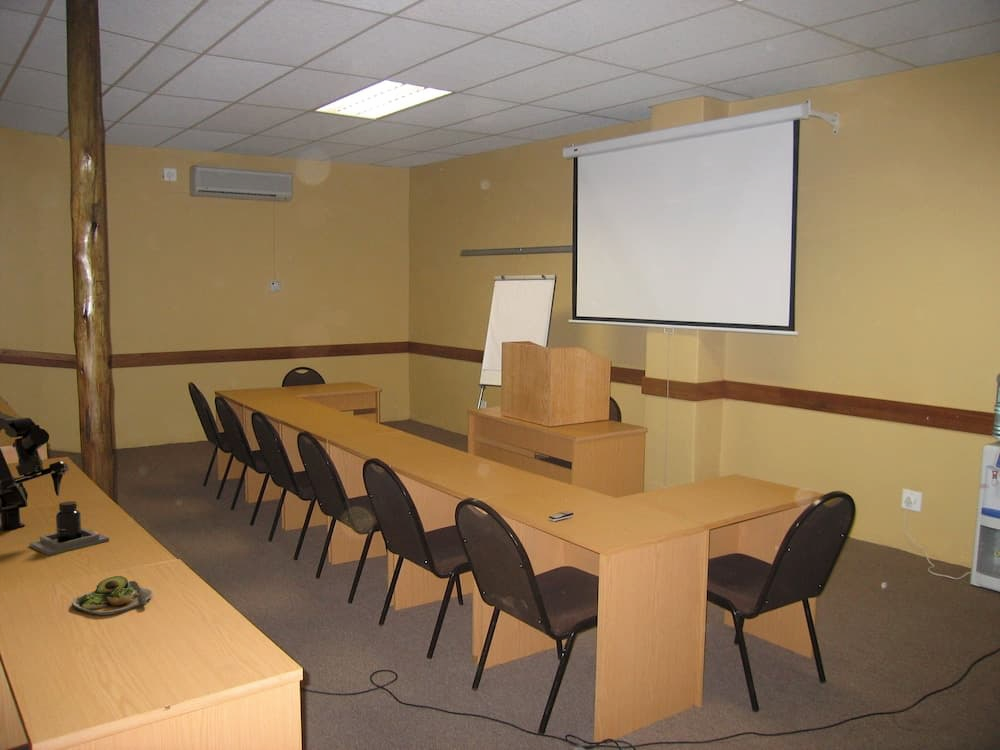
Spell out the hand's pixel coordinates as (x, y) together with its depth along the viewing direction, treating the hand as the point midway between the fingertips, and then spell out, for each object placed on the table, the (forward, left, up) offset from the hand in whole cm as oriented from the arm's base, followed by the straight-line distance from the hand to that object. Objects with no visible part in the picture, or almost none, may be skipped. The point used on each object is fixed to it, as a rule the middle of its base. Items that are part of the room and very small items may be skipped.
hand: (42, 500), depth 248 cm
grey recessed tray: (+11, +3, -12) cm, 17 cm away
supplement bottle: (+11, +3, -12) cm, 16 cm away
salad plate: (+67, -10, -13) cm, 69 cm away
